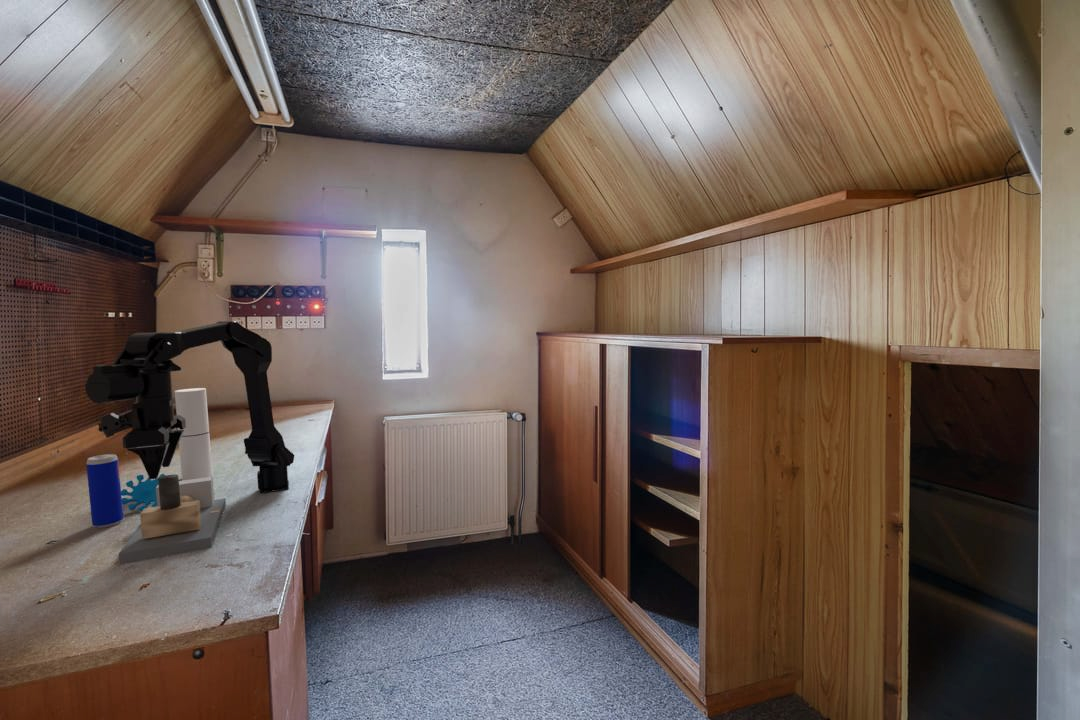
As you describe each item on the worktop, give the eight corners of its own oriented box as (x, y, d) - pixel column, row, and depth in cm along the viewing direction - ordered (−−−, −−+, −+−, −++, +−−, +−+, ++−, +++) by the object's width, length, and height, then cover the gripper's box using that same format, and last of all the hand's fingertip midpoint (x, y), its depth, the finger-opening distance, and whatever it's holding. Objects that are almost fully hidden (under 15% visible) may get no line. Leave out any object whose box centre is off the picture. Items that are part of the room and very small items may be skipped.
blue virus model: (113, 510, 111) (126, 471, 117) (118, 522, 115) (130, 483, 121) (173, 508, 116) (182, 470, 122) (176, 519, 120) (184, 482, 126)
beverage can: (129, 520, 109) (123, 454, 108) (102, 530, 105) (95, 460, 103) (114, 517, 111) (107, 452, 110) (86, 527, 106) (79, 459, 105)
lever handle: (201, 523, 101) (197, 471, 100) (198, 529, 98) (194, 475, 97) (146, 533, 97) (141, 478, 96) (142, 539, 94) (137, 483, 93)
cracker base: (226, 506, 117) (223, 473, 116) (211, 547, 95) (208, 507, 95) (152, 518, 111) (149, 483, 110) (119, 564, 89) (115, 521, 89)
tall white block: (189, 482, 135) (181, 392, 133) (177, 478, 139) (170, 390, 137) (217, 475, 141) (210, 388, 139) (205, 471, 145) (198, 387, 143)
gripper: (119, 393, 103) (125, 466, 104) (82, 405, 86) (89, 493, 87) (183, 389, 108) (188, 459, 109) (160, 400, 91) (166, 483, 92)
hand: (160, 472), depth 99 cm, fingers open, 9 cm apart
